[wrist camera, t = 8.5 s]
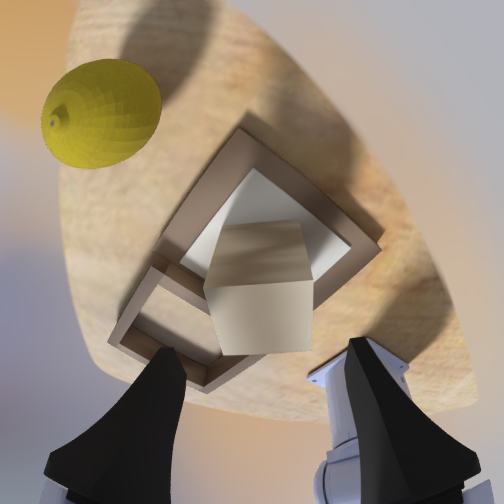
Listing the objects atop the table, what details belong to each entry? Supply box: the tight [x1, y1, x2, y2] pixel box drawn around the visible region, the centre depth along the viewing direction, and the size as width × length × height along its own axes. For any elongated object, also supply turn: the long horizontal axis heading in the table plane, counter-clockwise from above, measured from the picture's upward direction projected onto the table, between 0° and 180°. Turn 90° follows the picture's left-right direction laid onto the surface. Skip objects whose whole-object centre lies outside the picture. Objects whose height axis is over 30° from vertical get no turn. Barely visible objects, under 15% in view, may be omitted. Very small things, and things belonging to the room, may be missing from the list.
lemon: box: [41, 59, 162, 169], centre depth 11 cm, size 6×6×8 cm
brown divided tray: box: [107, 127, 382, 394], centre depth 20 cm, size 12×21×2 cm, turn 142°
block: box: [203, 219, 313, 355], centre depth 15 cm, size 5×5×6 cm
